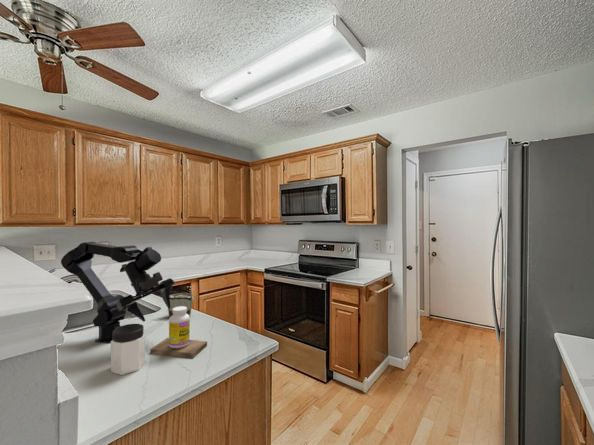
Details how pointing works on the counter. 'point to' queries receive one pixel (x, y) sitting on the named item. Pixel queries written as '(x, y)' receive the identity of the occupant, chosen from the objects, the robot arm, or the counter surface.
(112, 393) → the counter surface
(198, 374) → the counter surface
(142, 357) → the jar
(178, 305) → the food container
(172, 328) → the supplement bottle
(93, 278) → the robot arm
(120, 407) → the counter surface
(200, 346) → the walnut board
